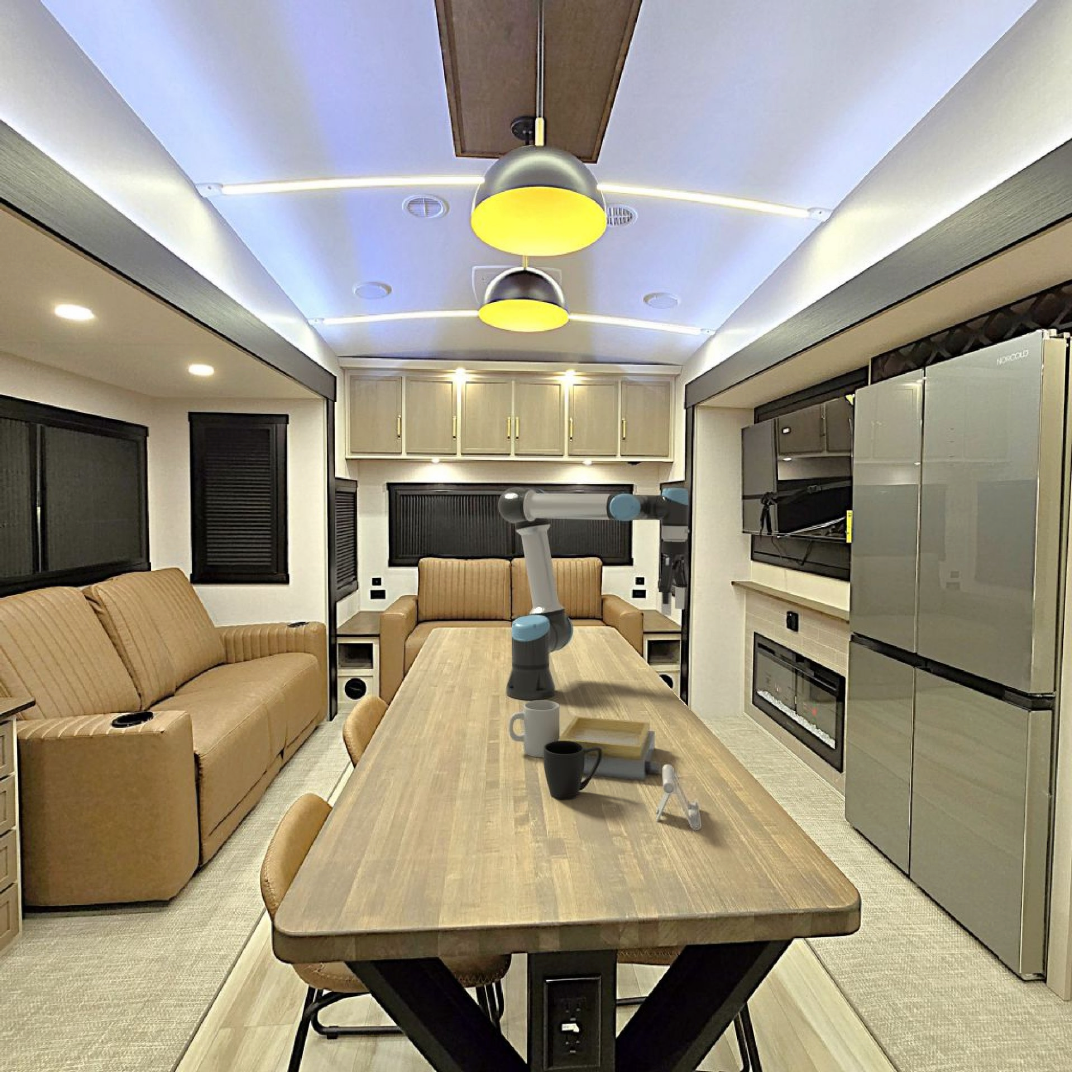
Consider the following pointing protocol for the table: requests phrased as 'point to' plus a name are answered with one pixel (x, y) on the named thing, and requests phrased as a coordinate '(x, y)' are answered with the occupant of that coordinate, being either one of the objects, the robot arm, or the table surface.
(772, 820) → the table surface
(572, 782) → the mug
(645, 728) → the yellow and grey tray
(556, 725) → the mug
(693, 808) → the portable electronic device stand
